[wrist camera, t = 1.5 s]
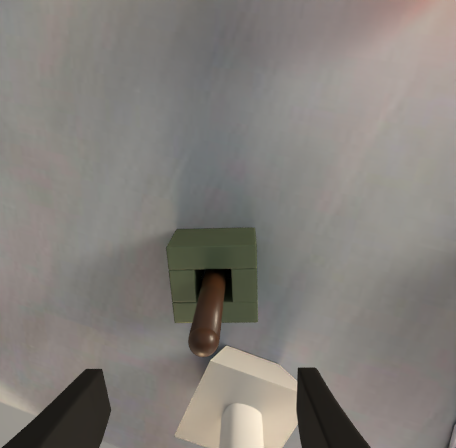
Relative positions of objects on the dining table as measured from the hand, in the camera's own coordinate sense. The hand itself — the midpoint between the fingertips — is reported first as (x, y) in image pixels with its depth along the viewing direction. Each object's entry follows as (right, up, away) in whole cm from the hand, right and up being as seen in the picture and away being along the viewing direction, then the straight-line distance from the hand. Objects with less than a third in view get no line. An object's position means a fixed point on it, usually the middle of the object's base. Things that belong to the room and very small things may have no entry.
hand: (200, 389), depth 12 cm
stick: (0, +3, +10) cm, 11 cm away
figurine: (+2, -6, +13) cm, 15 cm away
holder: (0, +3, +10) cm, 11 cm away
